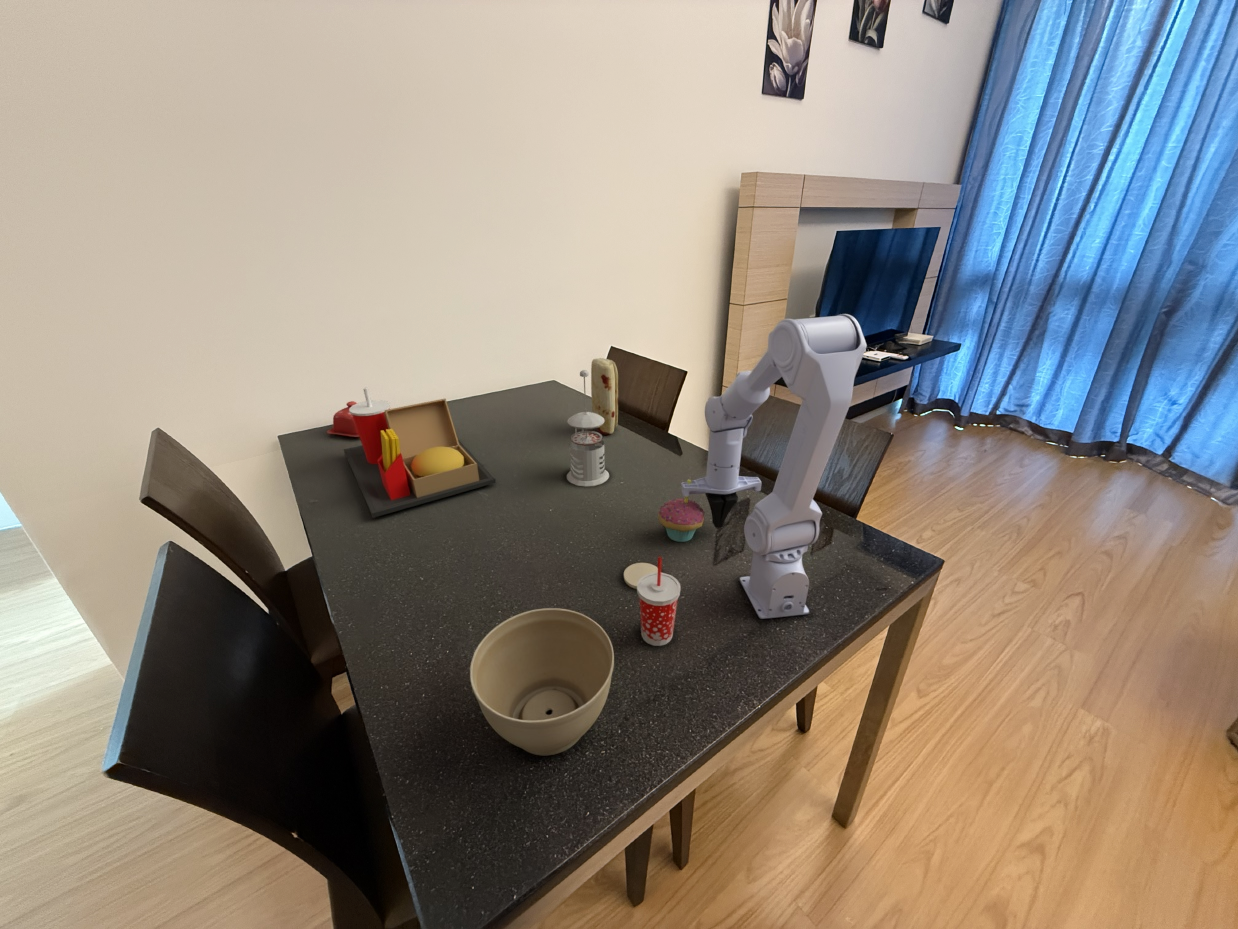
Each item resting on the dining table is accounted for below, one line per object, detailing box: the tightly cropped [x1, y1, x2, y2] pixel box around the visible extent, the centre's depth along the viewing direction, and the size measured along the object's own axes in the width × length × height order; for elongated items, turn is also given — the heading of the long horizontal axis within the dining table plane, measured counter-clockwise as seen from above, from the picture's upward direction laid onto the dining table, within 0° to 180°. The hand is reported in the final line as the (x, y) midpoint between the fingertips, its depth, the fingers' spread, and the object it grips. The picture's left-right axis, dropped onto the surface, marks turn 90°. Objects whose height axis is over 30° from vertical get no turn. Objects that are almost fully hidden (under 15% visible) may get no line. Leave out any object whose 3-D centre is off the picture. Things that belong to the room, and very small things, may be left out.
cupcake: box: [658, 475, 706, 543], centre depth 97 cm, size 9×8×12 cm
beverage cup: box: [636, 555, 681, 647], centre depth 74 cm, size 6×6×14 cm
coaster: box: [623, 562, 658, 590], centre depth 89 cm, size 6×6×1 cm
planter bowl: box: [469, 607, 615, 756], centre depth 62 cm, size 16×16×11 cm
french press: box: [566, 369, 610, 487], centre depth 116 cm, size 10×12×25 cm
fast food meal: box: [343, 387, 496, 518], centre depth 119 cm, size 26×35×18 cm
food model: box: [590, 357, 619, 436], centre depth 139 cm, size 10×7×20 cm
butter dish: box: [326, 400, 360, 438], centre depth 142 cm, size 12×12×8 cm
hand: (717, 524), depth 100 cm, fingers closed
